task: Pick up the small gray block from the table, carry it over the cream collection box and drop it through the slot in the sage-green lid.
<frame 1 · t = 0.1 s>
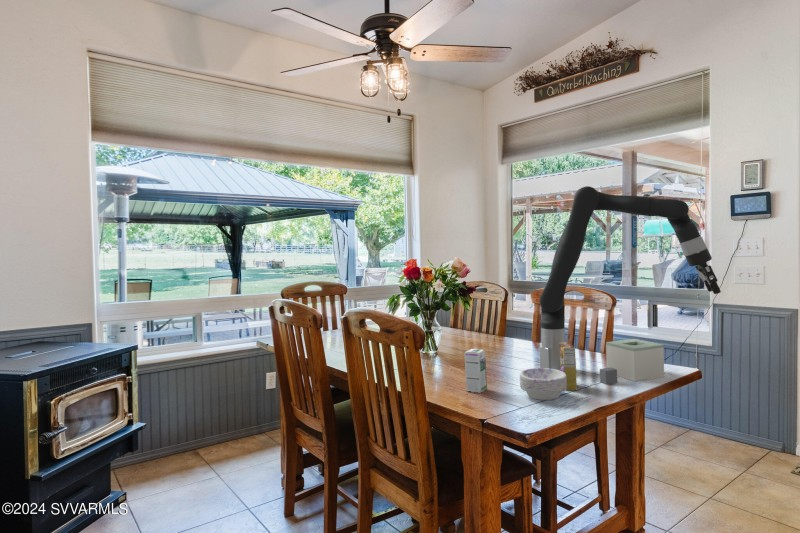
hand: (714, 292, 175), 31 cm above the table, tool tilted 20°, fingers open, 8 cm apart
marbled stone bowl: (543, 396, 164), on the table
candy box: (568, 387, 173), on the table
collection box: (634, 374, 185), on the table
gray block: (608, 382, 176), on the table
syrup box: (476, 390, 174), on the table
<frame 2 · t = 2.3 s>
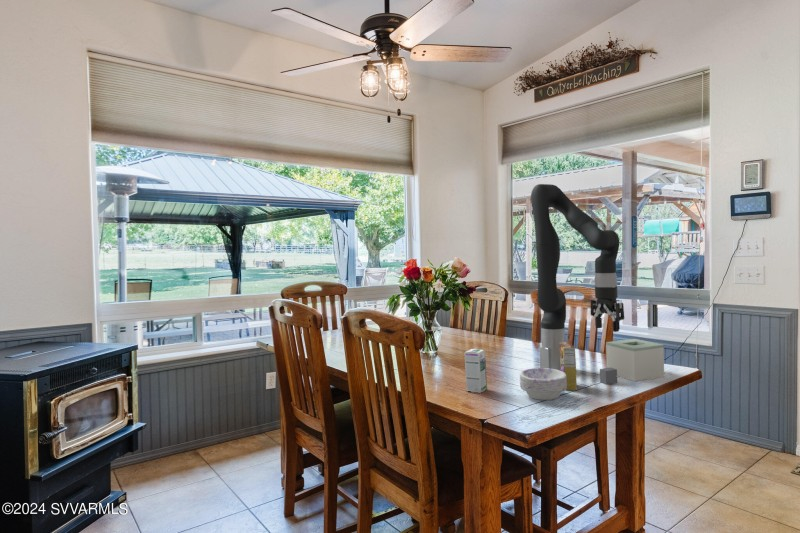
hand: (607, 329, 176), 19 cm above the table, tool pointing down, fingers open, 8 cm apart
nothing on the table moved.
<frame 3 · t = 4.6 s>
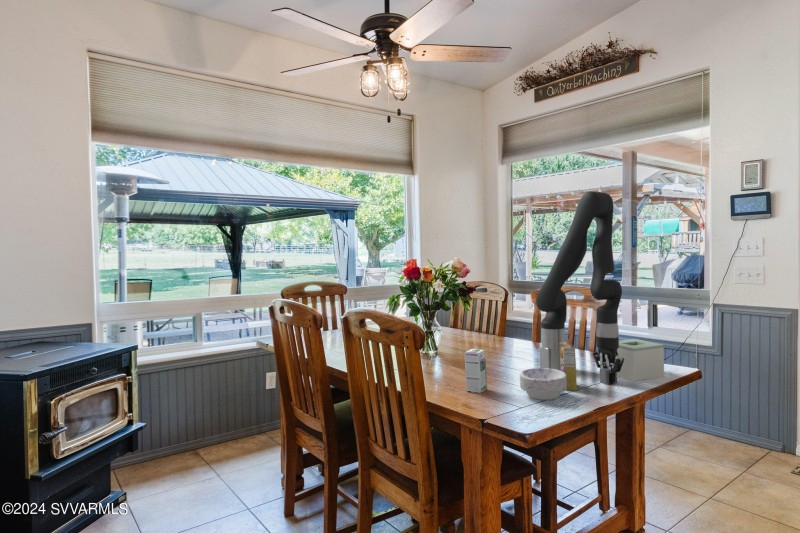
hand: (608, 381, 176), 0 cm above the table, tool pointing down, fingers closed on gray block, 2 cm apart
gray block: (608, 382, 176), on the table, touching gripper
everything else where it was.
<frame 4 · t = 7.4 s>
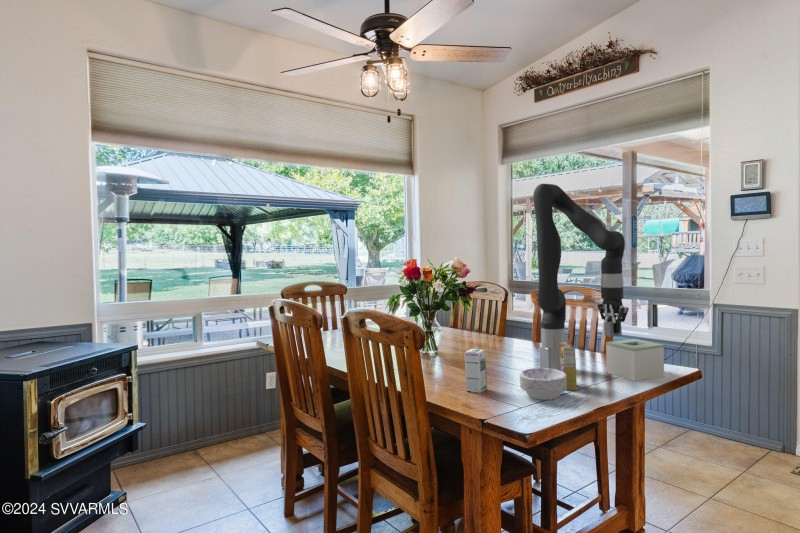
hand: (613, 332, 177), 18 cm above the table, tool pointing down, fingers closed on gray block, 2 cm apart
gray block: (613, 335, 177), point 17 cm above the table, touching gripper
everything else where it was.
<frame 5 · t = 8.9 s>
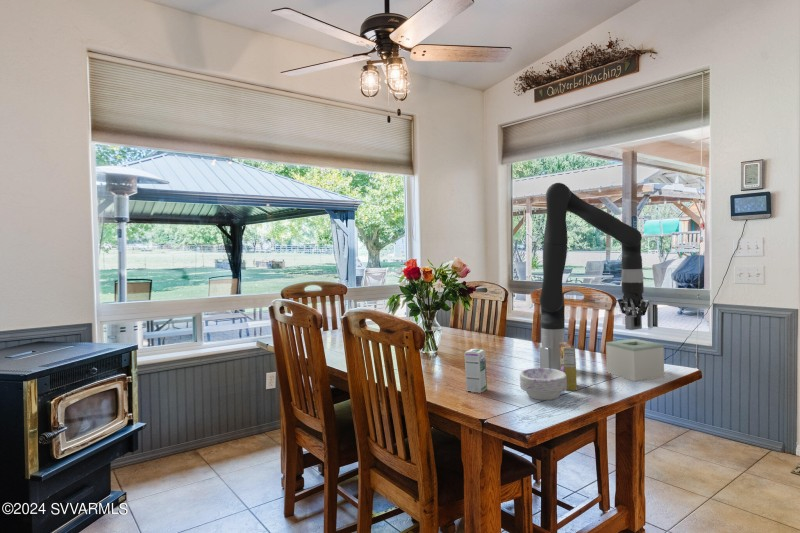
hand: (633, 325, 184), 19 cm above the table, tool pointing down, fingers closed on gray block, 2 cm apart
gray block: (633, 328, 185), point 18 cm above the table, touching gripper
everything else where it was.
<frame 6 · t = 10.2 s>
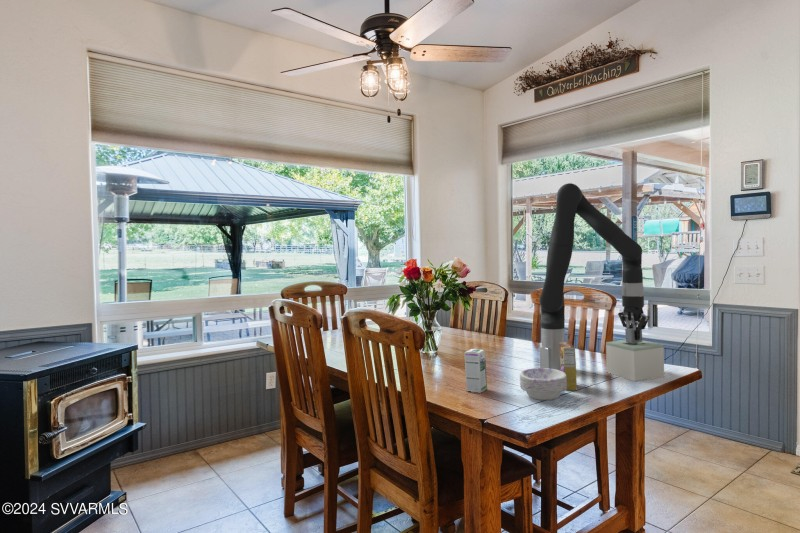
hand: (633, 339, 185), 14 cm above the table, tool pointing down, fingers closed on gray block
gray block: (634, 341, 185), point 13 cm above the table, touching gripper
everything else where it was.
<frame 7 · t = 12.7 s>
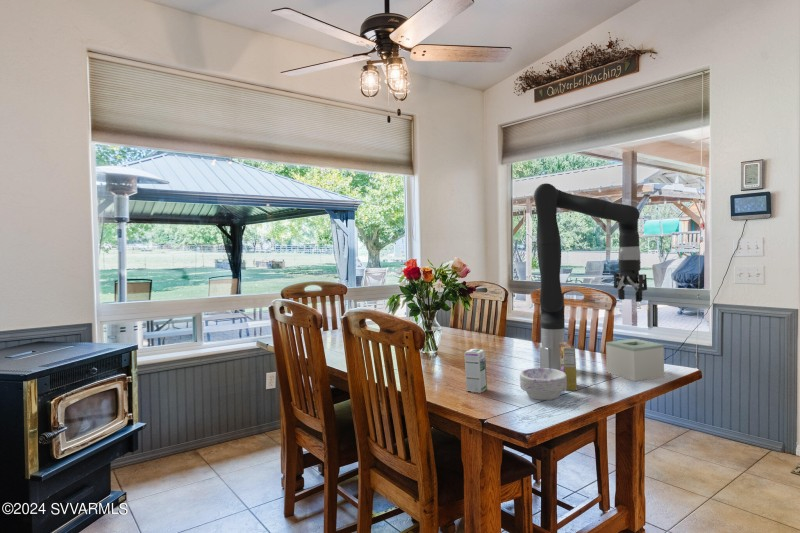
hand: (630, 300, 186), 28 cm above the table, tool pointing down, fingers open, 8 cm apart
gray block: (634, 374, 185), resting in collection box
everything else where it was.
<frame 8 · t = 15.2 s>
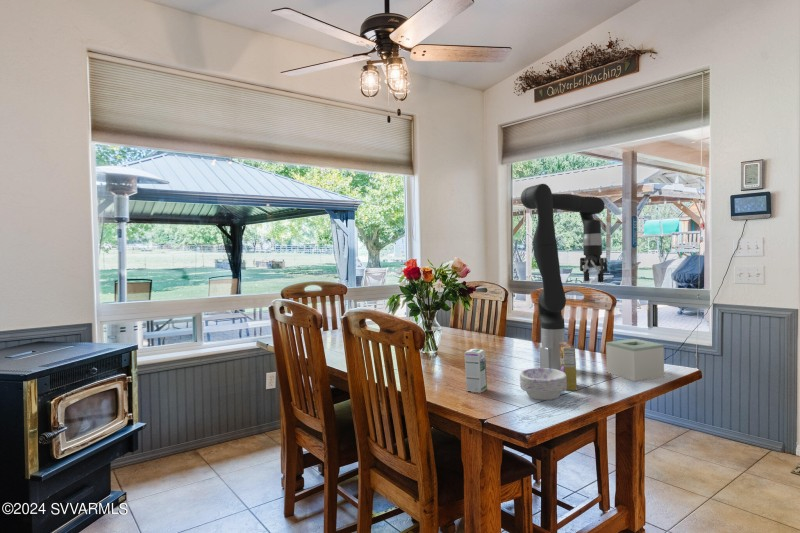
hand: (593, 281, 210), 34 cm above the table, tool pointing down, fingers open, 8 cm apart
nothing on the table moved.
at the end: gray block inside the target area on the collection box (0.1 cm from its centre), point 0.0 cm above the collection box's base; the gripper is holding nothing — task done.
